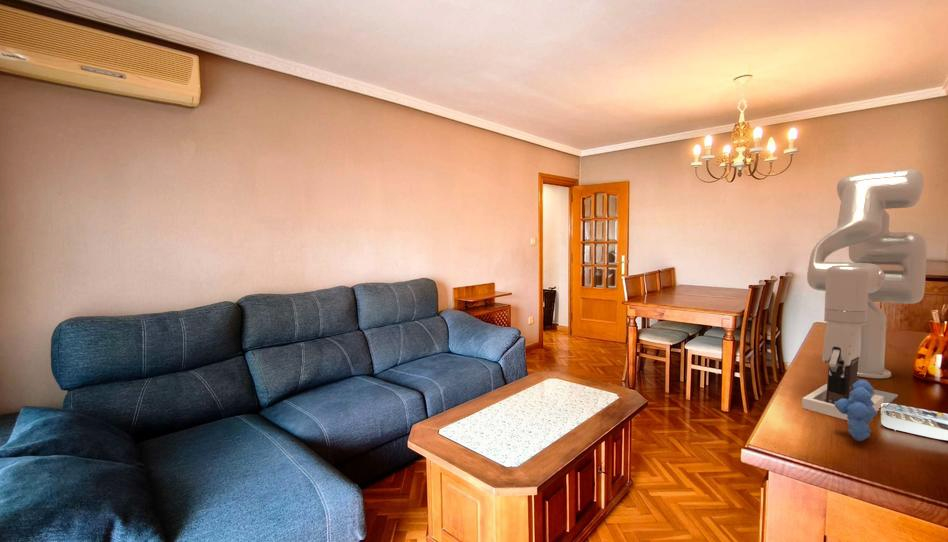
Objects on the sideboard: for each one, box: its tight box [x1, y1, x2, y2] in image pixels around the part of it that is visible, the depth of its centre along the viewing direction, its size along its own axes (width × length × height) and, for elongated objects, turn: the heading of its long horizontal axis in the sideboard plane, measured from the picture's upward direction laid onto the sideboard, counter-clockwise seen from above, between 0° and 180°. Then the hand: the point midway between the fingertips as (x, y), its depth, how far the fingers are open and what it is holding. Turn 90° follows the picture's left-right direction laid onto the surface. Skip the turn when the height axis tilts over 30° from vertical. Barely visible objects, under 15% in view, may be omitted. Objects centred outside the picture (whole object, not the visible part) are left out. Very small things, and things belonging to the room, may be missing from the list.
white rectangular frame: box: [801, 383, 884, 422], centre depth 99 cm, size 16×11×2 cm, turn 123°
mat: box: [871, 389, 899, 404], centre depth 107 cm, size 11×12×1 cm
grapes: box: [834, 379, 878, 442], centre depth 85 cm, size 12×7×12 cm, turn 132°
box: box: [825, 356, 859, 404], centre depth 98 cm, size 6×4×12 cm
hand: (841, 388), depth 98 cm, fingers closed on box, 5 cm apart
